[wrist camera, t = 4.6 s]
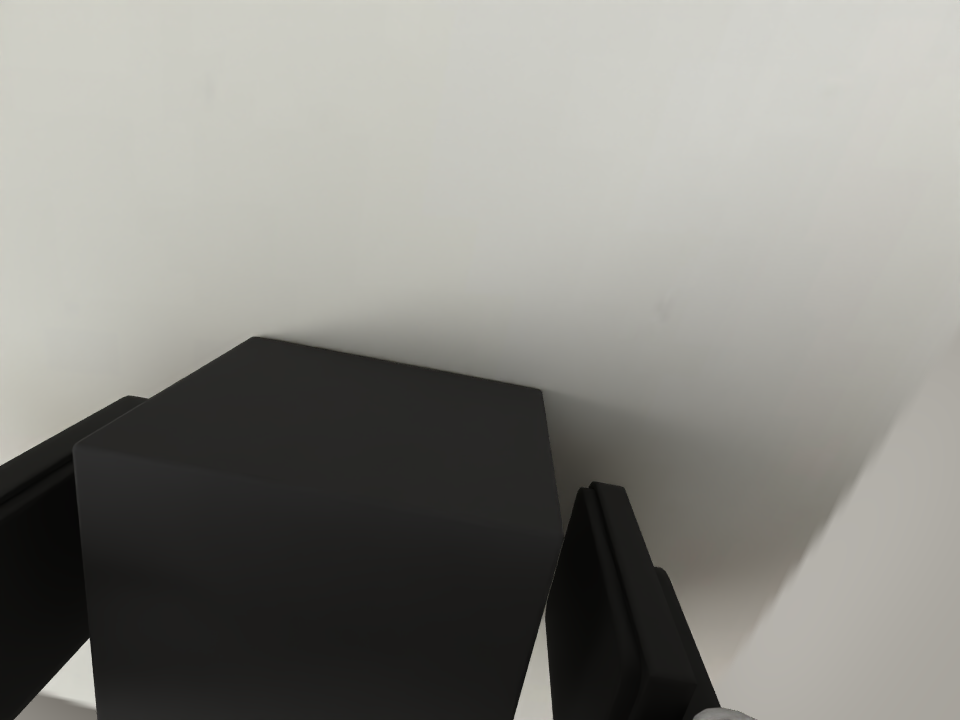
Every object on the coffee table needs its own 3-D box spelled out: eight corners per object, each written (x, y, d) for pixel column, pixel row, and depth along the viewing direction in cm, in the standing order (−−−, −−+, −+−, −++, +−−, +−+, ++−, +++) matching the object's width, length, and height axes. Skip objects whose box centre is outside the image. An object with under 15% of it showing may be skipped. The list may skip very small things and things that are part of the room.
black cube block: (543, 388, 10) (566, 536, 6) (489, 615, 11) (478, 849, 7) (252, 334, 10) (68, 443, 6) (244, 570, 11) (100, 780, 7)
